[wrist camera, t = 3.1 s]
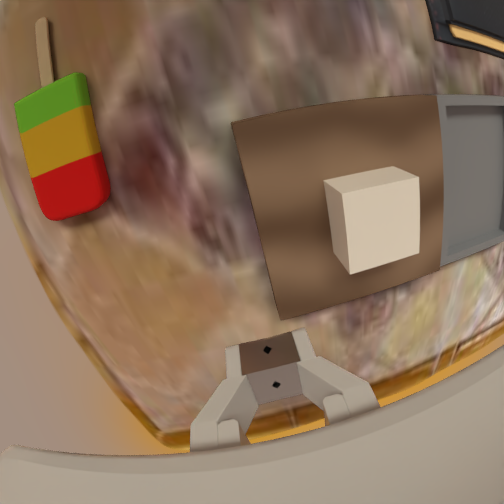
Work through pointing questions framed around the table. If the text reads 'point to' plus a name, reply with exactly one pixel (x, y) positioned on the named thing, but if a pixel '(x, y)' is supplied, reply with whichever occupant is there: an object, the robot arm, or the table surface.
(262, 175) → the ramp
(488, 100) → the box
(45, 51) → the popsicle
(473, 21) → the wallet
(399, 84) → the table surface
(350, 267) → the cream rectangular block
